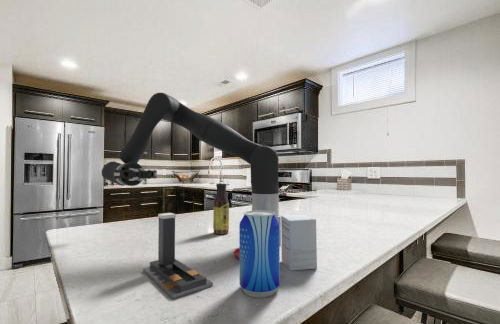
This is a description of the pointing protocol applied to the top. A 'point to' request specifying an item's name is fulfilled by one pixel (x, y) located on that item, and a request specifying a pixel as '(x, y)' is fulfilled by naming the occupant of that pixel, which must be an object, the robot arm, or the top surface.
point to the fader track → (176, 278)
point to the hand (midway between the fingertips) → (145, 174)
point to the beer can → (259, 253)
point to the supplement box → (299, 242)
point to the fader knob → (166, 239)
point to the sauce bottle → (221, 211)
